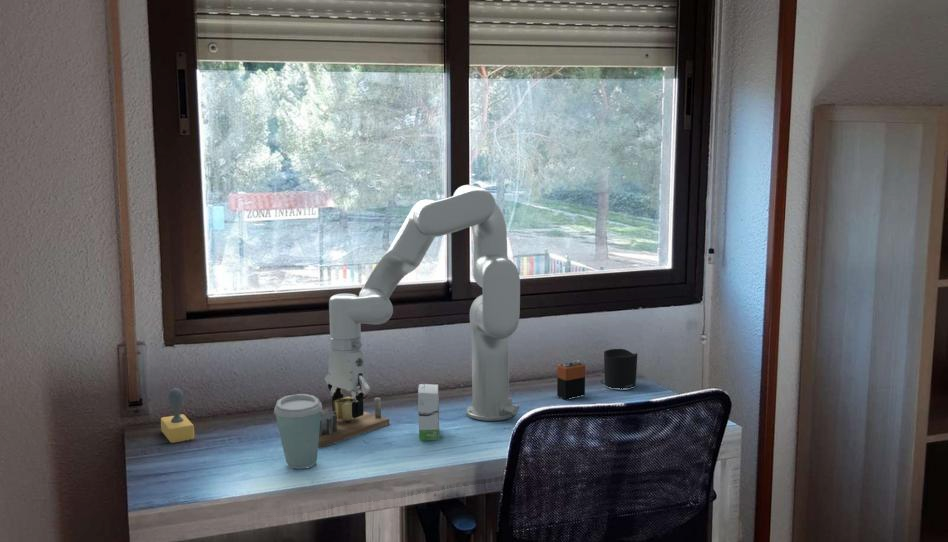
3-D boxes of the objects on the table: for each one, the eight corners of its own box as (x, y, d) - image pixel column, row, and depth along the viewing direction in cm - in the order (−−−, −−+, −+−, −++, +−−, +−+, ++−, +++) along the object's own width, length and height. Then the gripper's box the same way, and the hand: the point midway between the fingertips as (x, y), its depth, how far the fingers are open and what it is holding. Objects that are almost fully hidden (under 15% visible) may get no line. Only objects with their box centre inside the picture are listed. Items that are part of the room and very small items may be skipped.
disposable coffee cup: (329, 469, 207) (327, 403, 205) (280, 476, 204) (277, 409, 201) (319, 453, 217) (317, 390, 215) (272, 459, 214) (269, 396, 211)
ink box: (439, 440, 225) (438, 393, 224) (418, 441, 225) (417, 393, 223) (439, 428, 234) (438, 382, 232) (419, 429, 234) (418, 383, 232)
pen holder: (603, 390, 265) (603, 356, 264) (604, 381, 274) (604, 348, 273) (636, 392, 264) (637, 357, 262) (636, 382, 273) (637, 349, 271)
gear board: (389, 424, 237) (388, 398, 236) (321, 447, 221) (320, 420, 220) (354, 414, 246) (354, 389, 245) (286, 435, 230) (285, 409, 229)
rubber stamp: (194, 439, 228) (192, 391, 226) (170, 443, 225) (167, 395, 223) (184, 427, 237) (182, 381, 235) (161, 431, 234) (158, 385, 232)
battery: (585, 396, 260) (586, 361, 258) (566, 400, 256) (566, 365, 255) (575, 393, 263) (576, 358, 262) (556, 396, 260) (556, 361, 258)
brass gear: (346, 422, 230) (346, 406, 230) (328, 416, 235) (327, 400, 234) (367, 415, 236) (367, 399, 235) (349, 409, 240) (348, 394, 239)
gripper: (381, 346, 229) (382, 416, 232) (334, 336, 241) (336, 403, 244) (357, 352, 224) (359, 424, 227) (311, 341, 235) (313, 410, 238)
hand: (347, 412), depth 235 cm, fingers closed on brass gear, 6 cm apart
